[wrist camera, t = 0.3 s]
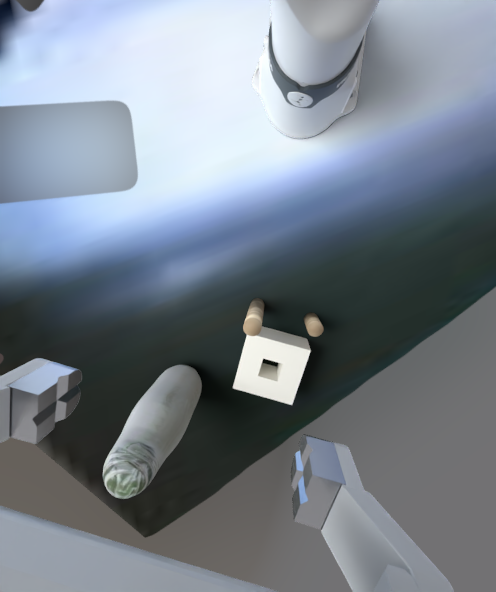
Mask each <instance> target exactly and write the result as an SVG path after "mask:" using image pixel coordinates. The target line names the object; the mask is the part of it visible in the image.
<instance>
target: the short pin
mask: <svg viewBox="0 0 496 592" xmlns="http://www.w3.org/2000/svg"><path fill="white" fill-rule="evenodd" d="M304 322H305V325H306V328H307V330H308V333H309V334H310V335H311V336H314V337H316V336H319V335H321V334H322V332H323V326H322V324H321V322H320V320H319V318H318V316H317V315H316V314H314V313H308V314H306V315H305V317H304Z"/></svg>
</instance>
